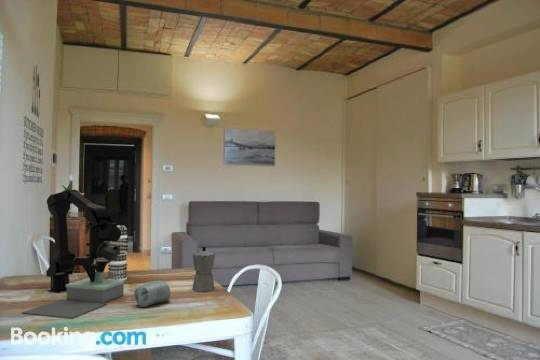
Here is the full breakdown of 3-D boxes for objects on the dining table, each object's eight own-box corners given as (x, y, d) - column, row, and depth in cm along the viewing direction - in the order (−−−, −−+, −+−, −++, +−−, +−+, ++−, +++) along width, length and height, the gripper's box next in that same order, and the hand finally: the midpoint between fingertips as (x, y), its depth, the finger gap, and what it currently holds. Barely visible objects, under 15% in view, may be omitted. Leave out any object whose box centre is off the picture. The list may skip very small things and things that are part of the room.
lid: (65, 290, 153) (66, 273, 153) (88, 283, 165) (89, 267, 166) (103, 293, 149) (104, 276, 149) (124, 286, 161) (125, 270, 161)
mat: (21, 313, 136) (21, 312, 136) (60, 300, 153) (60, 299, 153) (72, 318, 131) (72, 317, 131) (106, 305, 148) (106, 303, 148)
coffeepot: (216, 292, 167) (216, 248, 168) (192, 293, 165) (193, 249, 166) (212, 284, 182) (213, 243, 183) (191, 285, 180) (191, 244, 181)
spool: (143, 302, 140) (143, 274, 145) (128, 310, 145) (128, 282, 150) (177, 304, 149) (175, 278, 154) (162, 312, 154) (160, 286, 159)
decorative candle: (123, 281, 187) (124, 226, 187) (103, 281, 187) (104, 226, 188) (130, 277, 196) (131, 224, 197) (111, 277, 196) (112, 224, 197)
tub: (66, 300, 153) (66, 287, 153) (88, 293, 165) (88, 280, 165) (103, 303, 149) (103, 290, 149) (123, 295, 161) (123, 283, 161)
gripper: (99, 243, 147) (98, 287, 146) (129, 238, 165) (128, 277, 164) (72, 242, 150) (71, 285, 149) (105, 237, 168) (104, 275, 167)
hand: (96, 280), depth 157 cm, fingers open, 4 cm apart
